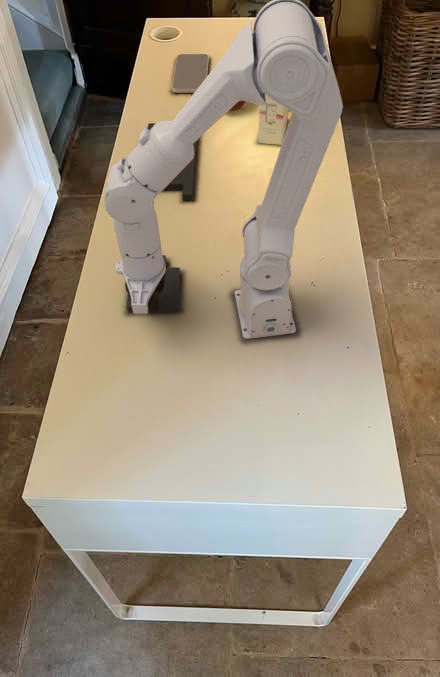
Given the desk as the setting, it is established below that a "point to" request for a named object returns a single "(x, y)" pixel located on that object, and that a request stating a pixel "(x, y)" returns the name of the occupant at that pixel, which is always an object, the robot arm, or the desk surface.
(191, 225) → the desk surface
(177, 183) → the black pad
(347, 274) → the desk surface
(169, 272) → the charcoal pad
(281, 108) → the ink cartridge box
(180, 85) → the smartphone
